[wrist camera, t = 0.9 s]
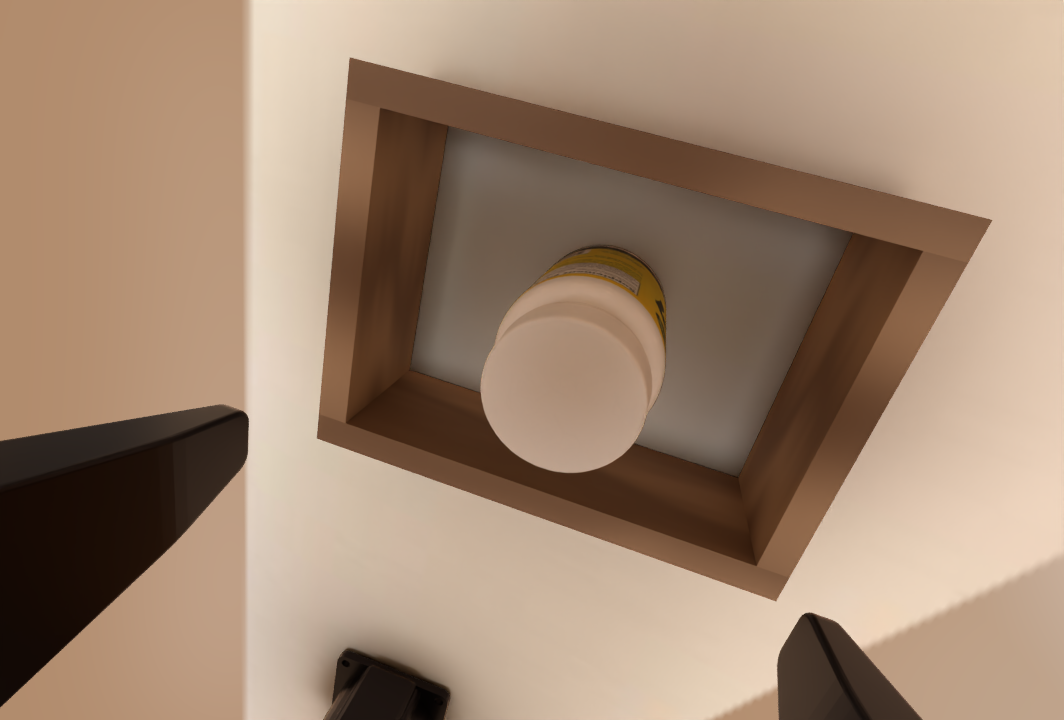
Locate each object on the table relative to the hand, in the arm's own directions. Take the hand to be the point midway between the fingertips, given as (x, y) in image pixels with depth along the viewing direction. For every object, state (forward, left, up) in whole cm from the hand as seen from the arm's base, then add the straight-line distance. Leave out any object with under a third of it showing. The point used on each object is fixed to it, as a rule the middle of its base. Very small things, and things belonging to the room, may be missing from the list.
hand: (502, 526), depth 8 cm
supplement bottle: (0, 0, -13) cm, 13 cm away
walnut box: (0, 0, -13) cm, 13 cm away
